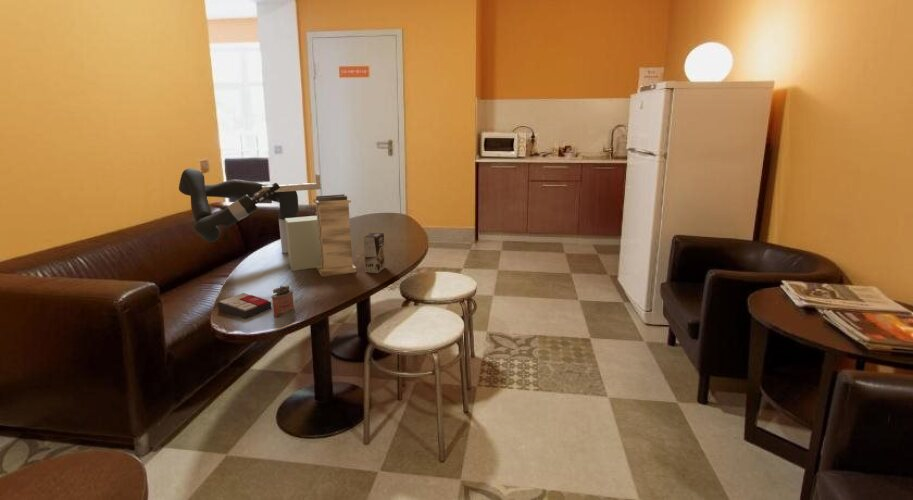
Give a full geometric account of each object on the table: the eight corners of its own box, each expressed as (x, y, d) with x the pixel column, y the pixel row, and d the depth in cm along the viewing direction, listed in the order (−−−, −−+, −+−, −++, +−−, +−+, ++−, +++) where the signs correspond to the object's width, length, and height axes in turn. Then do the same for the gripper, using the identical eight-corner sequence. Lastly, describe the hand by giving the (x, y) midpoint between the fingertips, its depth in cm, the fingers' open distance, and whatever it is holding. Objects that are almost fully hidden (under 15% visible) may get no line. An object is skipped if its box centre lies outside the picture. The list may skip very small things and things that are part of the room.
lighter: (290, 309, 179) (288, 282, 176) (297, 311, 177) (294, 284, 174) (271, 316, 172) (268, 289, 170) (277, 318, 170) (274, 290, 168)
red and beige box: (244, 310, 169) (216, 300, 176) (245, 321, 170) (218, 311, 178) (271, 300, 178) (243, 291, 186) (272, 311, 180) (244, 301, 187)
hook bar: (262, 191, 212) (260, 176, 211) (319, 188, 222) (318, 173, 221) (262, 192, 210) (261, 177, 208) (320, 189, 220) (319, 174, 218)
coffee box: (378, 273, 219) (377, 237, 214) (365, 272, 220) (363, 236, 216) (385, 267, 227) (384, 232, 223) (372, 266, 228) (370, 232, 224)
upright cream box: (289, 264, 232) (284, 218, 226) (324, 260, 238) (320, 215, 232) (292, 270, 223) (287, 222, 217) (328, 266, 229) (324, 219, 224)
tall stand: (317, 269, 224) (311, 195, 215) (350, 265, 230) (346, 193, 221) (322, 276, 214) (315, 199, 206) (356, 272, 221) (351, 196, 212)
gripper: (247, 212, 217) (281, 190, 221) (249, 218, 205) (285, 194, 209) (236, 197, 214) (271, 175, 217) (237, 203, 201) (274, 179, 205)
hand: (278, 185), depth 213 cm, fingers closed on hook bar, 3 cm apart
